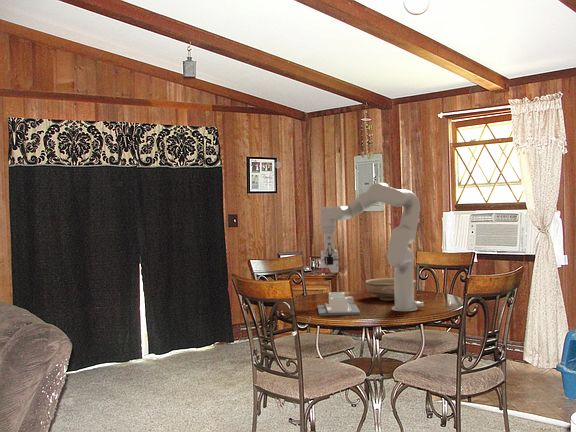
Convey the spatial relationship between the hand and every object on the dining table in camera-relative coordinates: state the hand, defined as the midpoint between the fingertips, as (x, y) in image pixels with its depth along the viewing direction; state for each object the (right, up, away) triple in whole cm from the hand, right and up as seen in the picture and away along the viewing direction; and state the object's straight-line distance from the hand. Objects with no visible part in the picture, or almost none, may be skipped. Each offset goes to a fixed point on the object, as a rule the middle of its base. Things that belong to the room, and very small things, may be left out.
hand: (329, 263), depth 340 cm
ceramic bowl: (+36, -21, +20) cm, 46 cm away
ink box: (0, -5, 0) cm, 5 cm away
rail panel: (+3, -22, -18) cm, 29 cm away
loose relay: (+10, -22, +3) cm, 25 cm away
